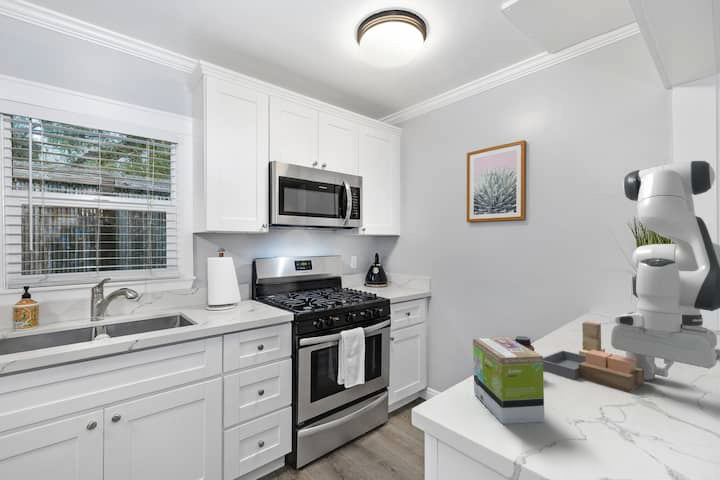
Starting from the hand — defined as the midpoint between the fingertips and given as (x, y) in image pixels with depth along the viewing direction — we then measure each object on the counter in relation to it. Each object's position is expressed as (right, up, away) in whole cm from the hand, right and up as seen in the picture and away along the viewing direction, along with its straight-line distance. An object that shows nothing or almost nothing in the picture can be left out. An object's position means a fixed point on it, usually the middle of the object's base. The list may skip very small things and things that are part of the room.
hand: (659, 375), depth 86 cm
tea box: (-43, -5, -7) cm, 44 cm away
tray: (-13, -5, +18) cm, 23 cm away
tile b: (-5, -1, +7) cm, 8 cm away
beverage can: (+4, -5, +11) cm, 13 cm away
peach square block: (-8, -1, +11) cm, 14 cm away
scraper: (+2, -6, +27) cm, 28 cm away
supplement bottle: (-29, -6, +12) cm, 32 cm away
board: (-6, -5, +9) cm, 12 cm away
